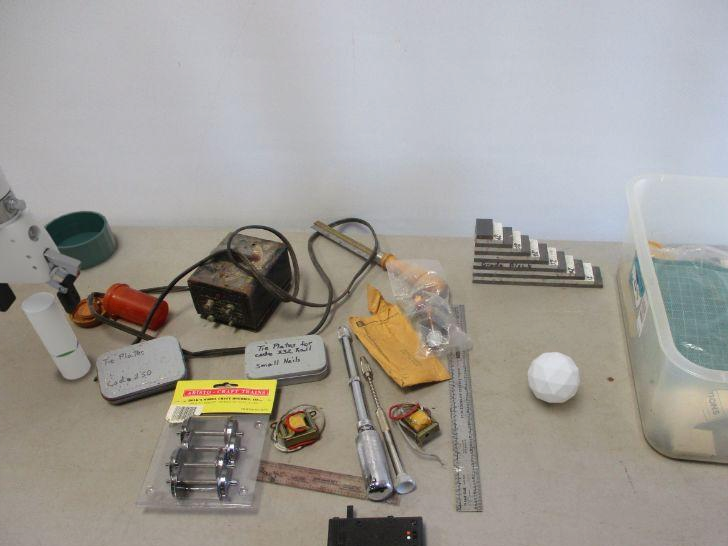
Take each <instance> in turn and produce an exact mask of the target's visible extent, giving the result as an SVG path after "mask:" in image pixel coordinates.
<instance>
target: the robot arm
mask: <svg viewBox="0 0 728 546" xmlns="http://www.w3.org/2000/svg"><path fill="white" fill-rule="evenodd" d="M44 227H45V225H43V224H42V223H41V221H40V219H39V218H38V217H37V216H36V215H35V214H34V212H33V211H32V210H30V208H29V207H27V203H26V201H25V200H24V199H18V197H17V196H16V194H15V192H14V190H13V188H12V186H11V185H10V182H9V181H8V179H7V177H6V175H5V173H4V171H3V169H2V168H1V166H0V313H6V312H7V311H9V309H10V308H11V306H12V305H13V304H14V303H15V301H16V300H17V296H16V294H15V293H14V291H13V290H12V288H11V286H10V285H9V284H28V285H29V284H32V285H33V284H34V285H37V284H46V285H48V286H49V287H51V288H52V289H54V290H56V291H57V292H56V297H57V299H58V300H59V303H60V304H61V306H62V308H63V309H64V311H65V313H66V314H68V315H72V314H74V312H75V310H76V309H77V307H78V306H79V304H80V303H81V300H82V298H81V295H80V294H79V292H78V290H77V288H76V286H75V283H76V281H77V279H78V278H79V277H80V275H81V270H80V269H81V262H80V261H79V260H77V259H74V258H71V257H69V256H66V255H63V254H60V252H59V250H58V248H57V247H56V245H55V243H54V242H53V240H52V238H51V237H50V235H49V234H48V232H47V231H46V229H45V228H44ZM61 267H62V268H61ZM63 268H65V269H66V270H64V269H63ZM54 275H56V276H58V277H59V278H61V279H63V280H62V281H60V280H58V279H56V278H55V277H54Z"/></svg>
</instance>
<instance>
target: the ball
mask: <svg viewBox="0 0 728 546" xmlns="http://www.w3.org/2000/svg"><path fill="white" fill-rule="evenodd" d="M526 373H527V380H528V386H529V388H530V390H531V391H532V393H533V394H534V395H535V398H537V399H538V400H541V401H544V402H547V404H548V403H549V404H564V403H565V402H567V401H568V400H570V399H571V398H573V397H574V396H576V393H577V391H578V389H579V387H580V385H581V378H580V377H581V376H580V370H579V367H578V366H577V365H576V363H575V362H574V360H573V358H572V357H570V356H568V355H566V354H564V353H561V352H559V351H554V352H552V351H551V352H543V353H542V354H540V355H539V356H538V357H536V358H534V359H533V360H532V361H531V364H530V366H529V368H528V370H527V372H526Z"/></svg>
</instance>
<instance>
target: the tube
mask: <svg viewBox="0 0 728 546" xmlns="http://www.w3.org/2000/svg"><path fill="white" fill-rule="evenodd" d="M21 309H22V312H23V313H24V314H25V316H26V317H27V319H28V321H29V322H30V324H31V326H32V327H33V329H34V331H35V332H36V334H37V335H38V337H39V339H40V341H41V342H42V344H43V346H44V347H45V349H46V351H47V352H48V353H49V356H50V357H51V359H52V361H53V362H54V364H55V366H56V367H57V368H58V370H59V372H60V374H61V375H62V377H63V378H65V379H66V380H72V381H73V380H77V379H80V378H82V377H84V376H86V374H88V372H90V370H91V368H92V367H91V366H92V365H91V362H90V360H89V358H88V357H87V355H86V353H85V350H84V349H83V347H82V346H81V345H82V344H80V342H79V340H78V337H77V336H76V334H75V332H74V330H73V329H72V327H71V324H70V323H69V321H68V320H67V318H66V315H65V314H64V312H63V310H62V308H61V307H60V305H59V303H58V301H57V300H56V298H55V295H54V294H53V293H51V292H47V291H41V292H37V293H36V292H35V293H33V294H31V295H30V296H28V297H26V298H25V299H24V300H23V301H22V304H21Z"/></svg>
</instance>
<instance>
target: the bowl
mask: <svg viewBox="0 0 728 546" xmlns="http://www.w3.org/2000/svg"><path fill="white" fill-rule="evenodd" d="M44 228H45V229H46V231H47V232H48V234H49V235H50V237H51V238H52V240H53V242H54V243H55V245H56V247H57V248H58V250H59V252H60V254H63V255H66V256H69V257H71V258H74V259H77V260H79V261H80V262H81V269H80V271H81V270H87V269H89V268H90V269H91V268H93V267H96V266H97V265H101V264H102V263H104V262H105V261H106V260H108V259H109V258H110V257H111V256H112V255H113V253H114V252H115V250H116V247H117V243H116V239H115V237H114V234H113V231H112V229H111V227H110V224H109V222H108V220H107V218H106V215H105V216H104V215H103V214H101V213H100V212H97V211H93V210H78V211H73V212H72V211H71V212H68V213H65V214H62V215H60V216H57V217H56V218H54V219H52V220H51V221H49V222H48V223H46V224H45V225H44ZM61 268H62V267H61ZM63 269H64V270H66V269H65V268H63ZM66 271H67V270H66Z"/></svg>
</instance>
